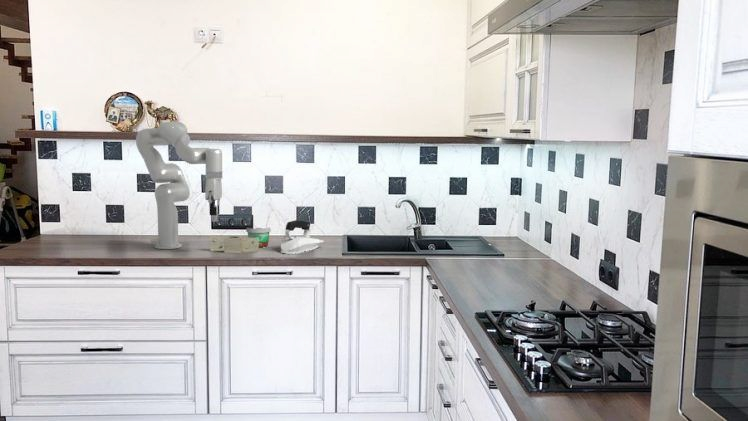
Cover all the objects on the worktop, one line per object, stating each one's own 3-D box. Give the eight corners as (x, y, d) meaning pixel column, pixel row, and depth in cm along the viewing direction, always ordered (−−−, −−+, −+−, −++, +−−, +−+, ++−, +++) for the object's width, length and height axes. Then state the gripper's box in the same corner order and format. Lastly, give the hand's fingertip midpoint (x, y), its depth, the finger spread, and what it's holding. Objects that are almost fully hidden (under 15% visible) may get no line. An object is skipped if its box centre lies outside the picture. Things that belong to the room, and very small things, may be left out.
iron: (324, 248, 327) (324, 218, 325) (292, 255, 307) (292, 224, 305) (307, 245, 333) (307, 216, 331) (275, 252, 313) (275, 222, 311)
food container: (247, 249, 320) (246, 229, 319) (246, 246, 326) (246, 227, 325) (272, 248, 324) (272, 228, 322) (270, 246, 329) (270, 226, 328)
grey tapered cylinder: (209, 221, 302) (208, 194, 300) (212, 220, 305) (211, 193, 304) (217, 222, 301) (216, 194, 299) (219, 220, 305) (219, 193, 303)
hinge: (207, 252, 311) (207, 237, 310) (213, 249, 318) (213, 235, 318) (256, 253, 309) (256, 239, 308) (260, 250, 316) (260, 236, 316)
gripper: (212, 174, 309) (212, 212, 311) (199, 176, 293) (200, 216, 295) (227, 174, 308) (228, 212, 310) (215, 177, 292) (216, 217, 294)
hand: (214, 214), depth 303 cm, fingers closed on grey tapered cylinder, 3 cm apart
